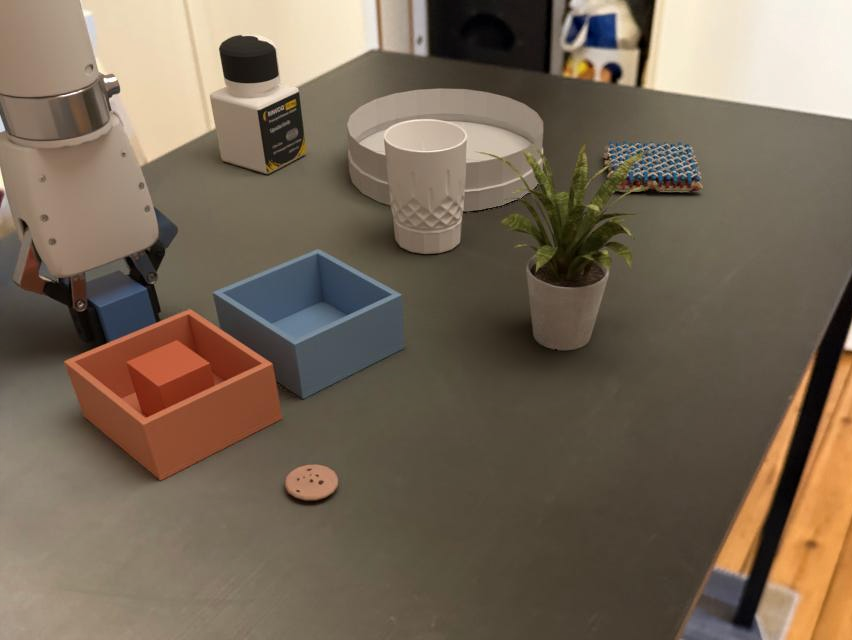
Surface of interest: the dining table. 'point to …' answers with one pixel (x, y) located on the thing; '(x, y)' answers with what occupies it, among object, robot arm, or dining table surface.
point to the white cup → (426, 183)
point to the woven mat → (656, 166)
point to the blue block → (120, 304)
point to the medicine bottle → (256, 107)
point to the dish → (498, 137)
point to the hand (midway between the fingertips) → (123, 332)
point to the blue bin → (313, 320)
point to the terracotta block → (168, 376)
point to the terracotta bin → (187, 420)
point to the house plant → (569, 251)
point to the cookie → (311, 482)
